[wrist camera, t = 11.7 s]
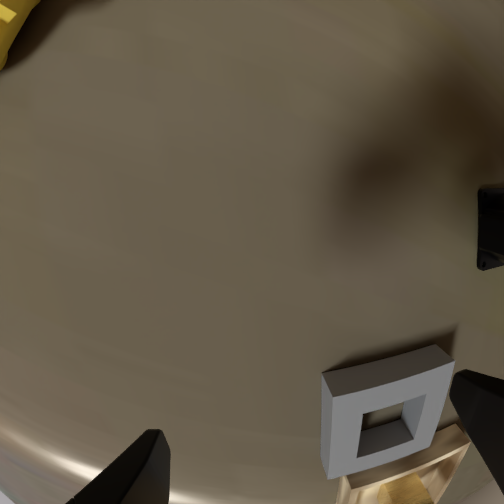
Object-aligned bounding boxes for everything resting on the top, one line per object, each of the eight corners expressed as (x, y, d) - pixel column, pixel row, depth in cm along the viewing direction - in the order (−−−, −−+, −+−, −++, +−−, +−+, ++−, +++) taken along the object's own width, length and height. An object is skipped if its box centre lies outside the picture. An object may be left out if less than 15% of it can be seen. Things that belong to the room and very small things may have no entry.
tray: (455, 423, 24) (470, 441, 20) (426, 487, 27) (436, 503, 23) (341, 464, 23) (351, 489, 20) (332, 519, 26) (338, 538, 23)
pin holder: (435, 343, 21) (455, 360, 18) (416, 428, 23) (429, 446, 20) (321, 373, 21) (332, 397, 18) (320, 456, 23) (327, 479, 20)
